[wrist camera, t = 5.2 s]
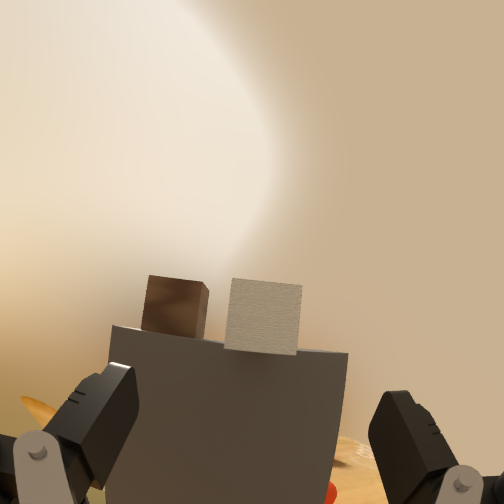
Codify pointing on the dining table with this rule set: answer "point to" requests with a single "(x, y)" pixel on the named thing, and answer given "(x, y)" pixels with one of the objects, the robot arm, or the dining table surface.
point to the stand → (226, 422)
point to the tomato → (331, 494)
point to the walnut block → (175, 307)
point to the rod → (263, 317)
